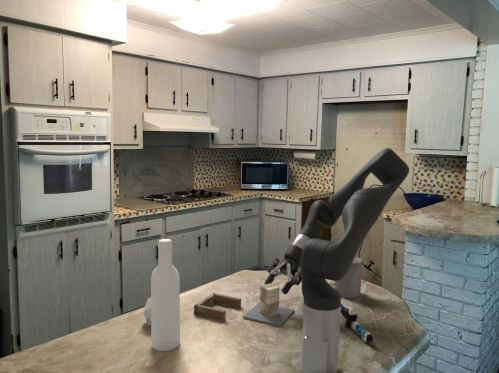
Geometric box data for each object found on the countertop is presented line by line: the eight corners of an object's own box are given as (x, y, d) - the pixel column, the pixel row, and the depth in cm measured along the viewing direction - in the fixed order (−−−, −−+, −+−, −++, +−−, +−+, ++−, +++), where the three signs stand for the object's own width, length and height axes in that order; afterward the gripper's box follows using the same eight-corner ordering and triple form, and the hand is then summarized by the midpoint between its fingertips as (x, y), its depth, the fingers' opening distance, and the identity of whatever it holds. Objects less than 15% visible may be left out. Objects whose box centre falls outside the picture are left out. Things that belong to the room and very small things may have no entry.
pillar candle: (337, 287, 164) (339, 250, 162) (362, 292, 160) (364, 254, 158) (331, 295, 155) (332, 256, 154) (357, 300, 151) (359, 260, 149)
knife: (373, 350, 118) (375, 335, 117) (363, 350, 118) (364, 336, 117) (332, 297, 148) (333, 286, 147) (324, 298, 147) (325, 286, 146)
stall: (223, 320, 132) (223, 311, 132) (194, 314, 137) (194, 305, 137) (241, 307, 144) (241, 298, 143) (213, 301, 148) (213, 293, 148)
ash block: (278, 313, 137) (279, 287, 136) (268, 316, 135) (268, 290, 134) (269, 308, 141) (270, 283, 140) (259, 312, 138) (260, 285, 137)
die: (137, 323, 131) (137, 307, 124) (153, 302, 137) (153, 286, 131) (159, 335, 129) (160, 320, 123) (174, 314, 135) (176, 298, 129)
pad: (280, 326, 129) (280, 324, 129) (242, 318, 135) (242, 316, 135) (294, 311, 141) (294, 309, 141) (259, 304, 146) (259, 302, 146)
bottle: (157, 354, 111) (156, 245, 108) (147, 342, 118) (145, 239, 114) (184, 346, 116) (184, 241, 112) (173, 335, 122) (173, 235, 119)
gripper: (320, 261, 140) (295, 301, 135) (291, 252, 152) (266, 289, 146) (309, 248, 137) (283, 289, 131) (280, 239, 148) (255, 277, 142)
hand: (274, 289), depth 139 cm, fingers open, 8 cm apart
